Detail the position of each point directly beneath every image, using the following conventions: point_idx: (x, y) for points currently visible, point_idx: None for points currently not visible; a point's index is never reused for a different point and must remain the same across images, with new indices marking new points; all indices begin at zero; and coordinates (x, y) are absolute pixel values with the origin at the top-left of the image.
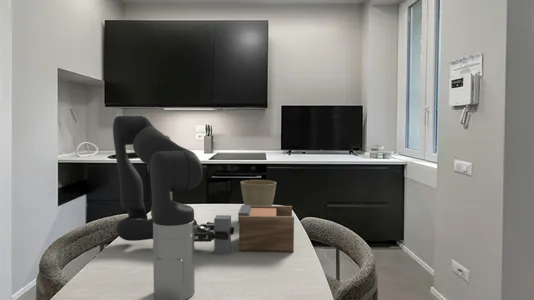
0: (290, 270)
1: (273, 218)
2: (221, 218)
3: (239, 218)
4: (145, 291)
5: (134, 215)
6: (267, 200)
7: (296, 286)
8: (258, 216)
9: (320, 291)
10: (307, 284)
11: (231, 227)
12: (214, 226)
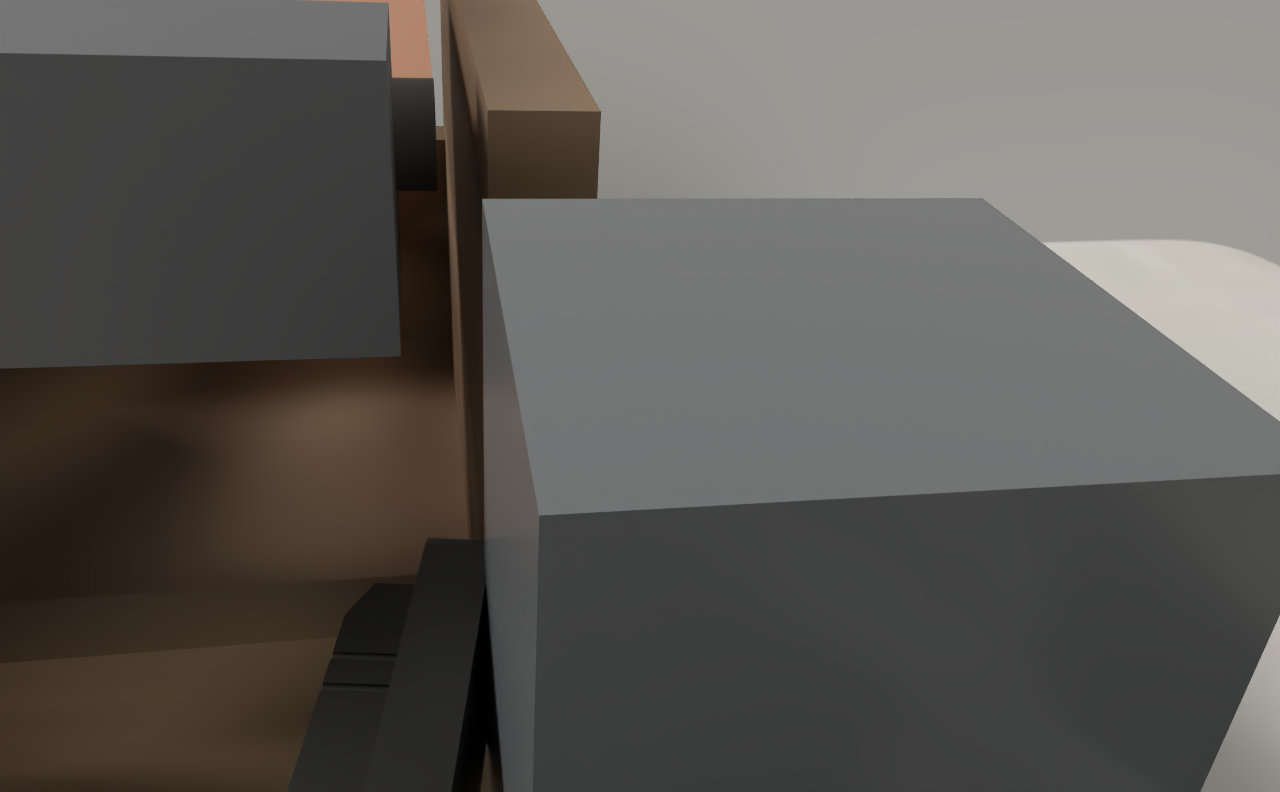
0: None
1: None
2: (1074, 308)
3: (597, 162)
4: None
5: None
6: None
7: (1246, 319)
8: (506, 4)
9: (1207, 253)
10: (1161, 285)
11: (475, 561)
12: (1201, 763)
